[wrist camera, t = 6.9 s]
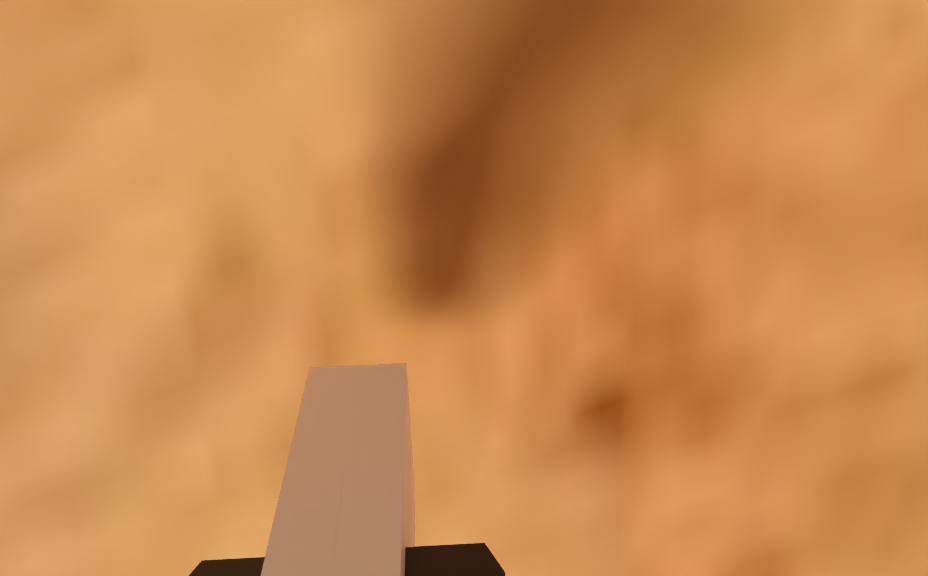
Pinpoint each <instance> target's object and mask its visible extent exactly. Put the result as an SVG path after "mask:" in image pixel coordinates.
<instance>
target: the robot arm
mask: <svg viewBox="0 0 928 576" xmlns="http://www.w3.org/2000/svg"><path fill="white" fill-rule="evenodd" d="M189 576H505V572H504V570H503V569H502V567H501V566H500V564H499V563H498V562H497V560H496V559H495V557H494V556H493V555H492V553H491V552H490V550H489V549H488V547H487V546H486V545H485V543H476V544H457V545H438V546H419V547H415V494H414V477H413V461H412V445H411V429H410V413H409V396H408V380H407V364H406V363H402V364H380V365H358V366H336V367H315V368H309V372H308V376H307V381H306V385H305V389H304V393H303V398H302V402H301V406H300V410H299V415H298V419H297V423H296V427H295V432H294V436H293V440H292V444H291V449H290V453H289V457H288V461H287V466H286V470H285V474H284V478H283V483H282V487H281V491H280V495H279V500H278V504H277V508H276V512H275V517H274V521H273V525H272V529H271V534H270V538H269V542H268V546H267V551H266V555H265V557H261V558H242V559H223V560H205V561H201V562H200V563H199V565H198V566H197V567H196V568H195V569H194V570H193V571H192V573H191V574H190V575H189Z"/></svg>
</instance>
